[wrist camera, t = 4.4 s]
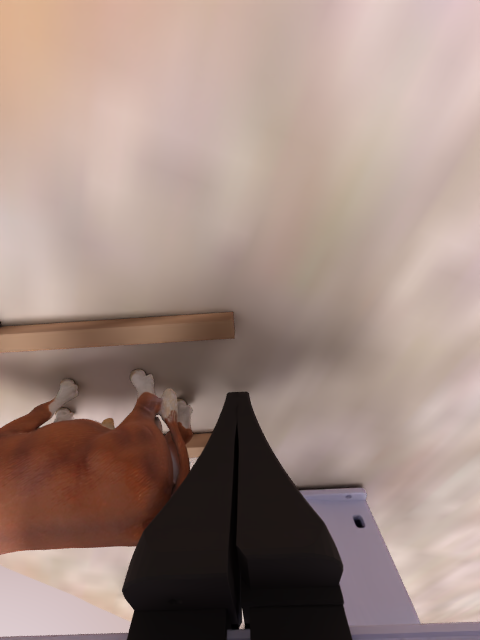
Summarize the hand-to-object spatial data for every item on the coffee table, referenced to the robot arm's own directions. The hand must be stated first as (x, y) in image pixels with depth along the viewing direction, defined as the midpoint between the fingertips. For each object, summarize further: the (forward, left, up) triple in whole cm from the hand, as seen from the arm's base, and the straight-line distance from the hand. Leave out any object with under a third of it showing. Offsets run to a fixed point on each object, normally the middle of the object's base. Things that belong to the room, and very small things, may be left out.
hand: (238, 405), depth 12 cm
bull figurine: (+9, 0, -2) cm, 9 cm away
